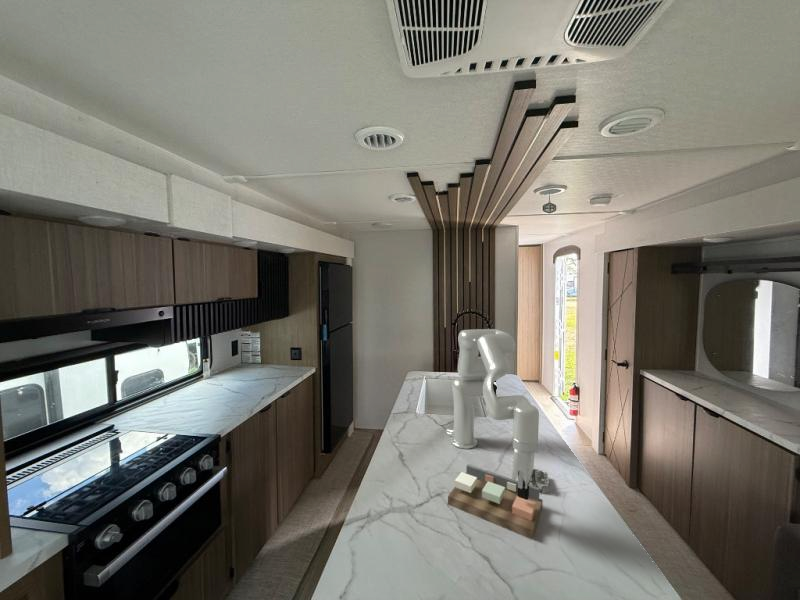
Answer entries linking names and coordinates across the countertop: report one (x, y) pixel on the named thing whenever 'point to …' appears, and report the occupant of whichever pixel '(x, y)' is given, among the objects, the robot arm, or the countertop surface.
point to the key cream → (465, 482)
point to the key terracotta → (524, 508)
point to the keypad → (493, 510)
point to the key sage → (493, 492)
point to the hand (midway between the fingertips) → (523, 496)
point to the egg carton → (538, 478)
